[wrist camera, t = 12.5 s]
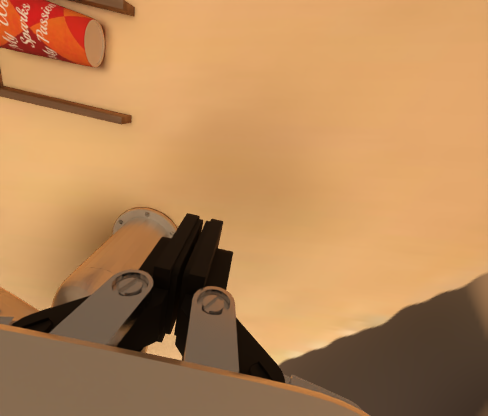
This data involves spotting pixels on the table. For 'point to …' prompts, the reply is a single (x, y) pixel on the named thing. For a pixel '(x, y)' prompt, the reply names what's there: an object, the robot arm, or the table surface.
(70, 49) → the paper cup
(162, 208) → the table surface
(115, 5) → the u rest
